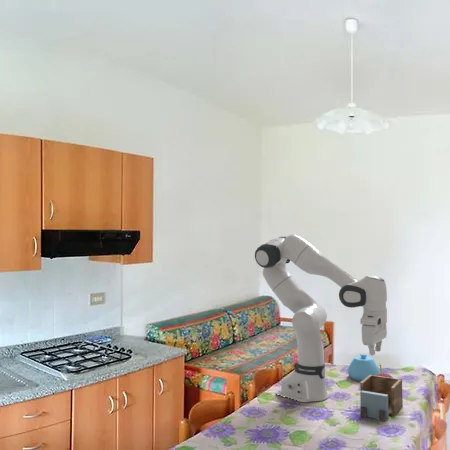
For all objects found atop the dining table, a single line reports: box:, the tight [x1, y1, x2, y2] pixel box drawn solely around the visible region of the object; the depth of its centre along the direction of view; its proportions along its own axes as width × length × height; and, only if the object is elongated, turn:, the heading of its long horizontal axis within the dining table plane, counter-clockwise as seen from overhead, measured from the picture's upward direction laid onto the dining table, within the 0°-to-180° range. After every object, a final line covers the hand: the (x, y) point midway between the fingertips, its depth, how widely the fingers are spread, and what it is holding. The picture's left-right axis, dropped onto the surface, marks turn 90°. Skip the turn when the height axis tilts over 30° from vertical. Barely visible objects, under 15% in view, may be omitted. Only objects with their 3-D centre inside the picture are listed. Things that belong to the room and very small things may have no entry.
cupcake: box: [376, 364, 394, 378], centre depth 218 cm, size 9×8×12 cm
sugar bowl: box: [347, 353, 381, 382], centre depth 236 cm, size 15×15×12 cm
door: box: [359, 391, 390, 421], centre depth 185 cm, size 10×3×9 cm, turn 57°
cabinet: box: [359, 375, 403, 422], centre depth 190 cm, size 13×20×11 cm, turn 147°
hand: (375, 353), depth 188 cm, fingers open, 6 cm apart
